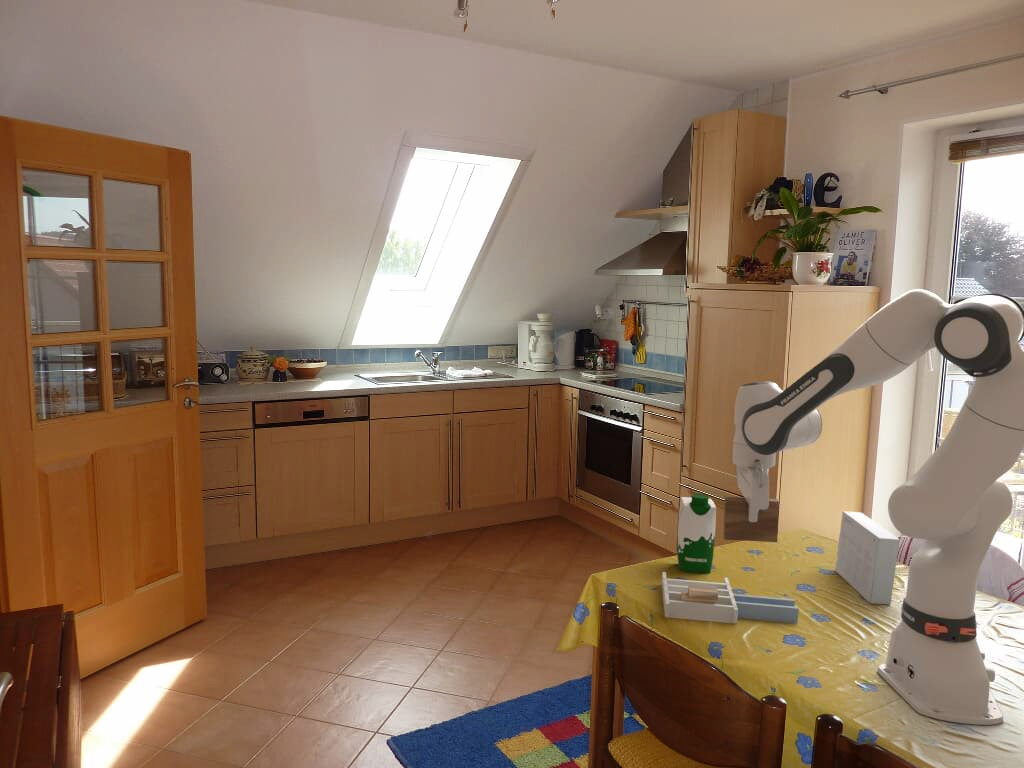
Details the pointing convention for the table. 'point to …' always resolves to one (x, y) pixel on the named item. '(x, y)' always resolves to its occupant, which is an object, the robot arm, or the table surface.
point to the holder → (766, 608)
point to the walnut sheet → (742, 527)
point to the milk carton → (696, 534)
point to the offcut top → (703, 592)
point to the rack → (698, 611)
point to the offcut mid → (686, 598)
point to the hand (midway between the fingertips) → (751, 519)
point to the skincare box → (867, 557)
